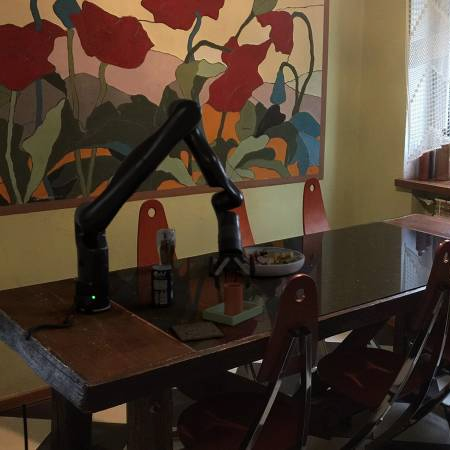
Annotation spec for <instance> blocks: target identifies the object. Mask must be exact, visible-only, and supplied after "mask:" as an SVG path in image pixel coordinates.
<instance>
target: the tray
mask: <svg viewBox="0 0 450 450" xmlns="http://www.w3.org/2000/svg"><path fill="white" fill-rule="evenodd" d="M261 314H263V304H261V303H256V302H251V301H247V300H243V313H240V314H238V315H236V316H233V317H231V316H226V315H224V301H223V302H220V303H218V304H215V305H213V306H211V307H209V308H206V309H203V310H202V319H203V320H206V321H210V322H215V323H220V324H224V325H228V326H230V327H231V326H232V327H233V326H236V325H238V324H241V323H242V322H243V323H244V322H245V321H247V320H250V319H253V317H256V316H258V315H261Z"/></svg>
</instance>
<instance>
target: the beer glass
mask: <svg viewBox="0 0 450 450" xmlns="http://www.w3.org/2000/svg"><path fill="white" fill-rule="evenodd" d="M176 241H177V237H176V230H175V229H173V228H160V229H157V230H156V249H157V255H158V261H159V262H158V265H168V266H171V270H172V272H174V271H175V270H176V267H175V262H174V260H175V253H176V247H177V246H176V244H177V242H176Z"/></svg>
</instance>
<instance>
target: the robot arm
mask: <svg viewBox="0 0 450 450" xmlns="http://www.w3.org/2000/svg"><path fill="white" fill-rule="evenodd" d="M166 116H167V117H166V118H167V119H166V120H165V121H164V122H163V123H162V125H161V126H159V128H158V129H157V130H156V131H154V133H152V134H150V135H149V136H148V137H146V138H145V139H143V140H142V141H141V142H139V143H137V145H136V146H134V147H133V148H132V150H131V151H130V152H129V153H128V154H127V155H126V156H125V157H124V158H123V160H122V161H121V162H120V163H119V165H118V166H117V168H116V169H115V172H114V173H113V175H112V177H111V179H110V180H109V183H108V184H107V186H106V187H105V189H103V190H102V191H101V193H100V194H98V195H97V197H95V198H94V199H93V200H91V199H90V200H85V201H82V202H80V203H79V204H78V205H77V206H76V208H75V209H74V216H73V224H74V243H75V248H76V266H77V279H76V280H75V281H74V285H75V287H74V288H75V294H73V304H72V305H71V306H70V307H69V309H68V310H67V313H66V316H65V318H64V322H65V323H63V324H54V323H53V324H52V323H51V324H49V323H46V324H45V323H44V324H39V325H35V326H32V327H30V328H29V330H28V332H27V335H26V338H25V342H28V341H30V339H31V337H32V335H33V332H34V331H35V330H39V329H49V328H50V329H65V328H69V327H70V326H71V325H72V323H71V321H69V320H70V317H71V314H72V312H73V311H74V309H75V310H76V311H77V312H81V313H85V314H88V315H89V314H90V315H91V314H97V313H104V312H106V311H109V310H110V309H111V296H110V293H111V292H110V255H109V251H110V250H109V248H110V247H109V243H108V240H107V229H108V227H109V226H110V224H111V223H112V222H113V220H114V219H115V218H116V216H117V215H118V213H119V211H121V209H122V208H123V207H124V205H125V204H126V203H127V202H128V201H129V200H130V199H131V198H132V197H133V195H134V194H136V193H137V191H138V190H140V188H141V187H142V186H143V185H144V184H145V183H146V182H147V181H148V180H149V179H150V177H151V176H152V175H153V174H154V173H155V172H156V171H157V169H158V168H159V167H160V165H161V164H163V162H164V161H165V160H166V159H167V158H168V157H169V155H170V154H171V152H172V151H173V150H174V149H175V147H177V145H179V143H180V142H181V141H183V142H184V144H185V145H186V147H187V149H188V151H189V152H190V154H191V156H192V158H193V160H194V161H195V164H196V165H197V167H198V170H199V172H200V173H201V175H202V177H203V179H204V181H205V183H206V185H207V186H208V187H209V188H211V189H216V188H221V189H222V190H219V191H216V192H214V193H213V194H212V195H211V198H210V205H211V207H212V209H213V211H214V214H215V218H216V221H217V250H218V257H216V258H214V257H213V256H209V258H208V272H207V273H208V276H207V277H209V278H213V280H214V287H215V288H216V290H221V278H220V277H221V276H222V275H223V274H224V273H225V272H226V273H231V272H233V273H238V272H237V271H239V272H240V273H239V274H240V275H242V276H243V277H244V288H245V290H248V289H249V287H250V286H251V277H256V276H255V272H256V271H255V264H254V258H253V256H250V258H244V257H243V249H242V248H243V238H242V237H243V236H242V232H241V223H240V222H241V221H240V216H239V214H238V213H237V212H235V211H233V210H236V209H238V208H240V207H242V206H243V204H244V203H245V202H244V200H245V197H244V194H243V192H242V191H241V189H240V188H239V187H238V185H237V184H235V182H234V181H233V180H232V179H231V177H229V175H228V174H227V172H226V171H225V169H224V166H223V164H222V161H221V160H220V158H219V157H218V155H217V154H216V152H215V151H214V149H213V148H212V146H211V145H210V144H209V143H208V141H207V139H206V138H205V136H204V134H203V133H202V132H201V129H200V127H199V124H200V123H201V120H202V118H203V109H202V107H201V105H200V104H199V103H198V102H197V101H195V100H193V99H188V98H176V99H173V100H171V102H169V104H168V105H167V107H166ZM245 262H246V263H247V264H248V265H249V266H250V271H248V270H247V269H246V267H245V266H244V265H243V264H244V263H245ZM216 264H218V265H219V267H218V268H217V270H216V271H214V266H216ZM21 410H22V425H23V442H24V450H29V434H28V418H27V417H28V415H27V403H21Z"/></svg>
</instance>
